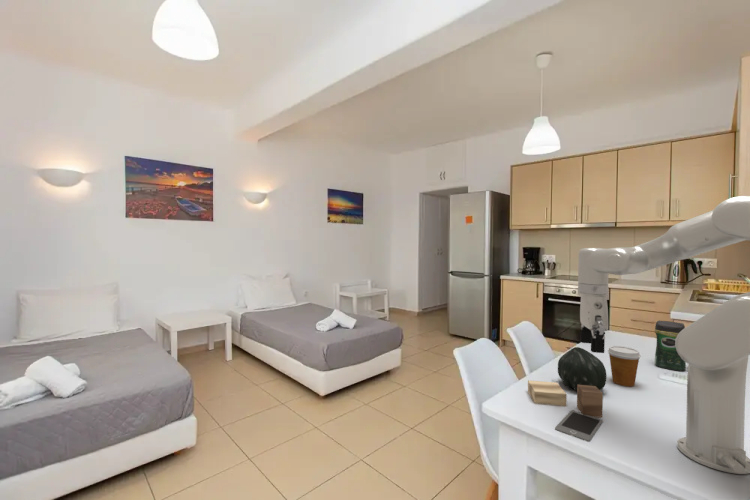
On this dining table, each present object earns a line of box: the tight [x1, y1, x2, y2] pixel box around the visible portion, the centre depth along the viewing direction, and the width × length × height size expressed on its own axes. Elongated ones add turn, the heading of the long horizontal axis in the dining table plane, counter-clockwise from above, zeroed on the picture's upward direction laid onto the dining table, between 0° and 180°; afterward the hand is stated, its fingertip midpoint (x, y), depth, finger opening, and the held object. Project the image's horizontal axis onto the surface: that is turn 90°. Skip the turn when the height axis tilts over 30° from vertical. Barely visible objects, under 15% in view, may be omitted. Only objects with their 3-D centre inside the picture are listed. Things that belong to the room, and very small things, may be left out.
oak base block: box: [527, 380, 568, 407], centre depth 110 cm, size 9×9×4 cm
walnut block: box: [576, 385, 604, 419], centre depth 101 cm, size 5×5×7 cm
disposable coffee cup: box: [607, 345, 641, 388], centre depth 122 cm, size 10×10×12 cm
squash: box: [557, 346, 607, 391], centre depth 118 cm, size 14×15×15 cm
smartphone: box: [554, 409, 604, 443], centre depth 93 cm, size 15×8×1 cm, turn 135°
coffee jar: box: [654, 320, 687, 372], centre depth 139 cm, size 10×8×19 cm
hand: (591, 347), depth 101 cm, fingers open, 9 cm apart
